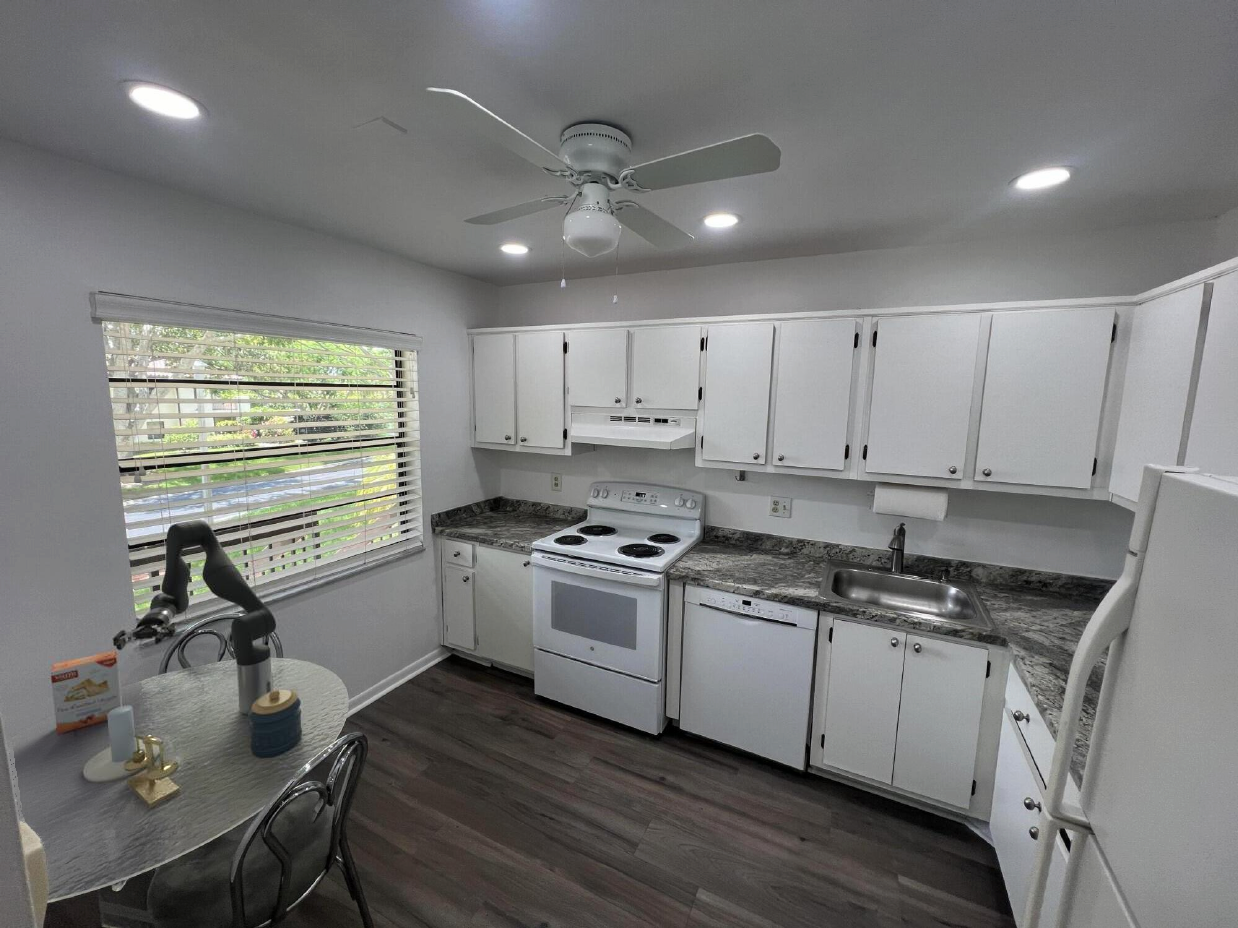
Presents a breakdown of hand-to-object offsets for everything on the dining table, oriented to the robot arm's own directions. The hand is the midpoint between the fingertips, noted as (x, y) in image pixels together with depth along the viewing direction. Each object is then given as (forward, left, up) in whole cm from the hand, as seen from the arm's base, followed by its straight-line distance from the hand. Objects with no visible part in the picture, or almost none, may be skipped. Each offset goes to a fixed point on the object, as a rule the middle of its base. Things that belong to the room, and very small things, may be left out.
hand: (138, 644), depth 152 cm
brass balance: (-10, +34, -27) cm, 44 cm away
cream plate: (0, +18, -27) cm, 32 cm away
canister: (-37, +28, -27) cm, 54 cm away
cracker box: (+15, -8, -27) cm, 32 cm away
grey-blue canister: (0, +18, -25) cm, 31 cm away
